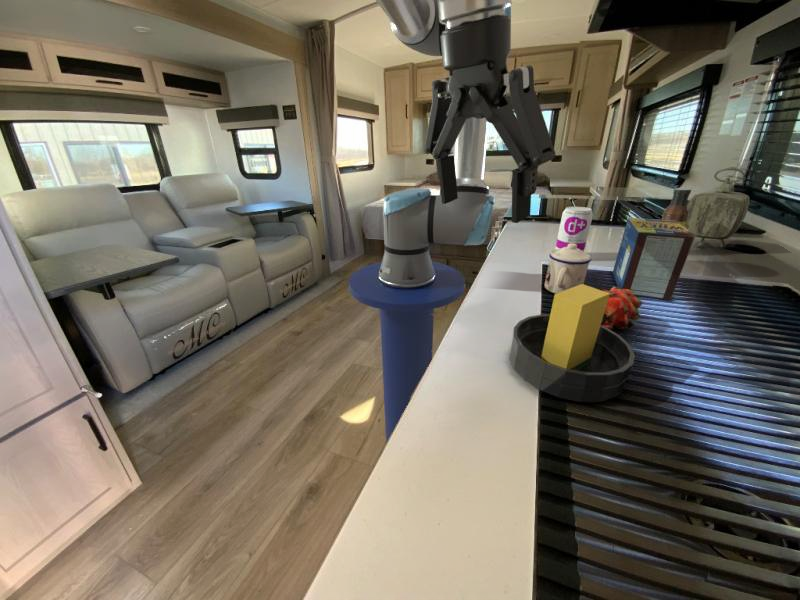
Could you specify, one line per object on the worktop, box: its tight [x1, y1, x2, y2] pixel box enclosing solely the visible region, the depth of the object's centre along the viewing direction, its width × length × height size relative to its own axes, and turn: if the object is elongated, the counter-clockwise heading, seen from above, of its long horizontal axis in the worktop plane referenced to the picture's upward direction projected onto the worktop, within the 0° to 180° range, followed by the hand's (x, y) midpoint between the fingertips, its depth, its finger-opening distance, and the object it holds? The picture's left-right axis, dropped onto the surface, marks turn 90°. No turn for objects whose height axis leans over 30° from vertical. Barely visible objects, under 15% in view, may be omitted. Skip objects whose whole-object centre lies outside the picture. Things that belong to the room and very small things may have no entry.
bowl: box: [509, 313, 636, 403], centre depth 54 cm, size 17×17×6 cm
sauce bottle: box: [660, 187, 692, 227], centre depth 104 cm, size 6×6×20 cm
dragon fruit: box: [601, 286, 643, 331], centre depth 66 cm, size 8×8×12 cm
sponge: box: [541, 283, 610, 371], centre depth 52 cm, size 4×7×13 cm, turn 122°
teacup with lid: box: [544, 243, 592, 295], centre depth 80 cm, size 12×9×12 cm
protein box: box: [612, 217, 696, 301], centre depth 81 cm, size 10×15×16 cm
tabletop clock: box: [685, 167, 751, 249], centre depth 108 cm, size 14×9×25 cm, turn 40°
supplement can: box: [554, 206, 594, 252], centre depth 102 cm, size 8×8×15 cm
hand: (481, 209), depth 48 cm, fingers open, 13 cm apart
